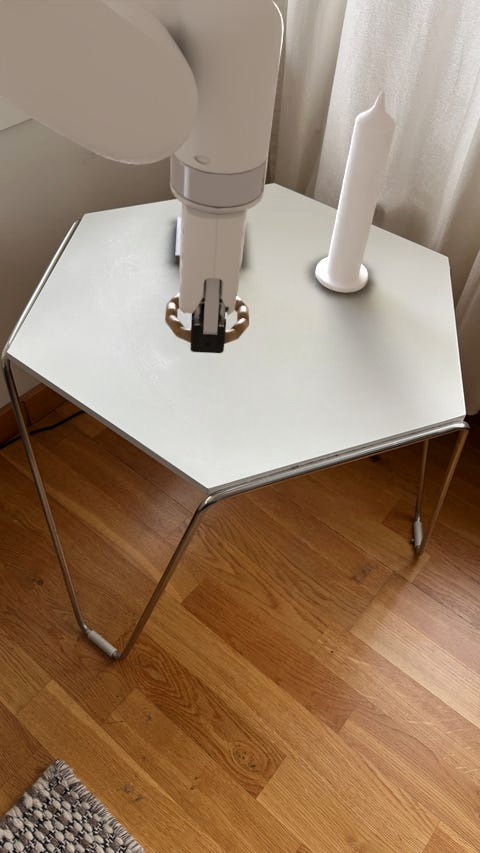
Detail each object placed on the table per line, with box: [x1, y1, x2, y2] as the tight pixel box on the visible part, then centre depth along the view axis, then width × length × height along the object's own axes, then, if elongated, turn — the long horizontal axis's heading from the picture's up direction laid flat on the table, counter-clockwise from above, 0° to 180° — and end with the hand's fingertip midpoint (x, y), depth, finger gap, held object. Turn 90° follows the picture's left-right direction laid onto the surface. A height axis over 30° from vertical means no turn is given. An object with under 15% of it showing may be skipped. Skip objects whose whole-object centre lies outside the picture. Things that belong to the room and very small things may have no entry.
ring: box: [164, 291, 250, 345], centre depth 71 cm, size 8×8×1 cm
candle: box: [315, 90, 397, 294], centre depth 86 cm, size 7×7×25 cm
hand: (207, 341), depth 69 cm, fingers closed on ring, 1 cm apart
